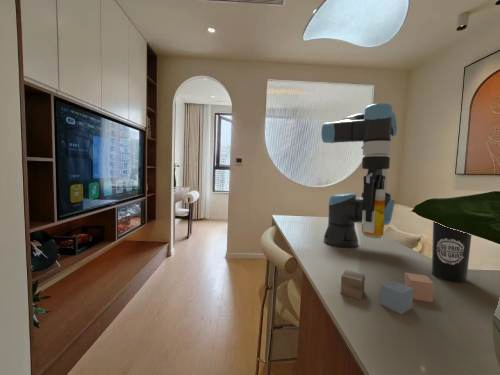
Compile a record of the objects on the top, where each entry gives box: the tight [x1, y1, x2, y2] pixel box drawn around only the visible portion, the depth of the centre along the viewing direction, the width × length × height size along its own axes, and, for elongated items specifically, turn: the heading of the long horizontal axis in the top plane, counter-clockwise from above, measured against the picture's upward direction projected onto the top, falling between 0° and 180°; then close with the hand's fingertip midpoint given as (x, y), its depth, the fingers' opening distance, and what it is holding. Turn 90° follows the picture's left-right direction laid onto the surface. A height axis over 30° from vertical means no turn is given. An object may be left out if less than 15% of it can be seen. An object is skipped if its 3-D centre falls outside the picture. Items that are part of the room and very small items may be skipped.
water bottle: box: [431, 221, 472, 284], centre depth 75 cm, size 10×10×23 cm
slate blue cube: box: [379, 279, 414, 315], centre depth 58 cm, size 5×5×5 cm
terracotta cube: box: [403, 272, 435, 303], centre depth 63 cm, size 5×5×5 cm
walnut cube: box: [340, 269, 366, 300], centre depth 64 cm, size 5×5×5 cm
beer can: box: [361, 189, 385, 239], centre depth 74 cm, size 6×6×15 cm
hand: (372, 229), depth 74 cm, fingers closed on beer can, 6 cm apart
